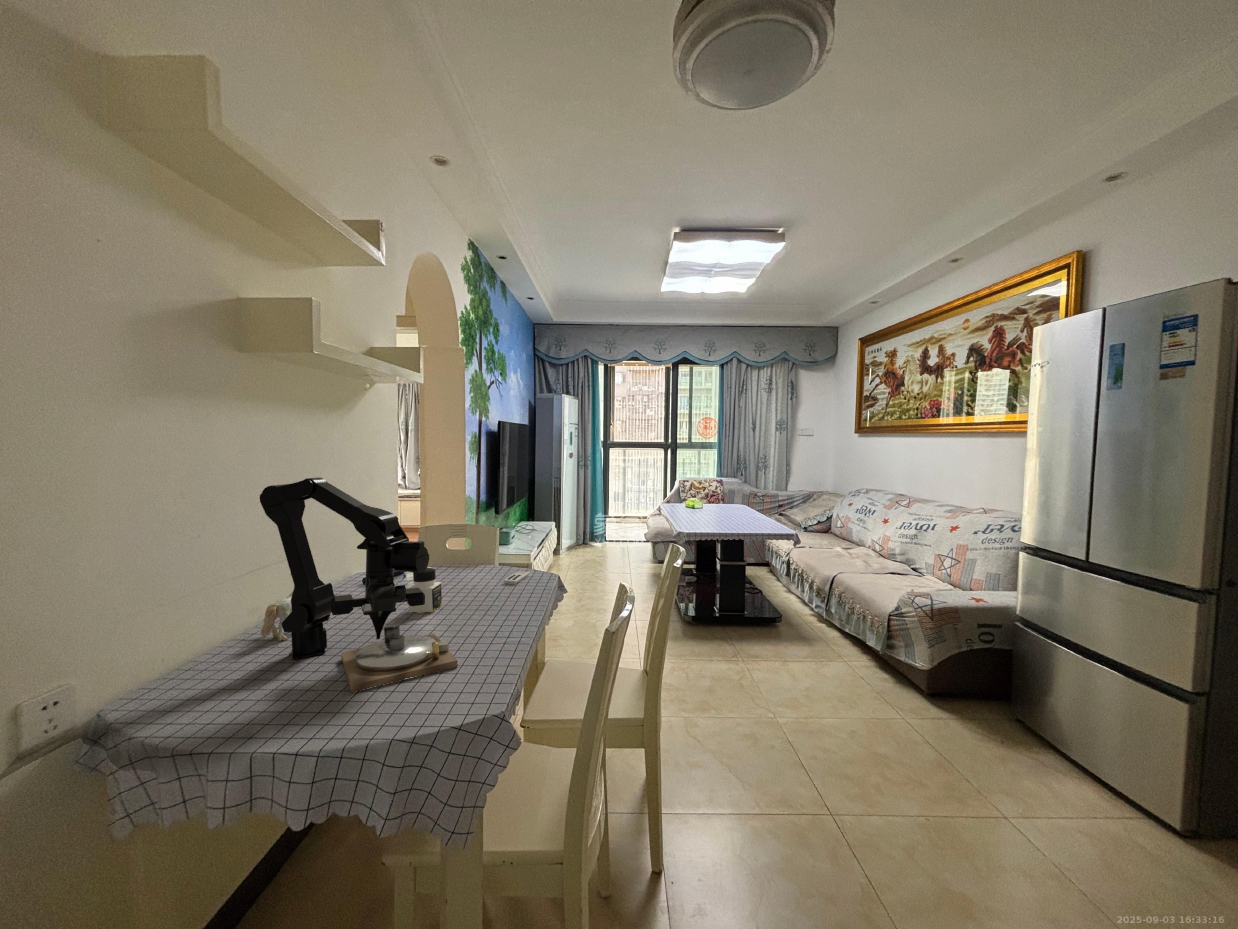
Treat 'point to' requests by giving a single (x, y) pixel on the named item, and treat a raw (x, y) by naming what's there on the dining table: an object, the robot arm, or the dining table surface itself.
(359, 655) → the flange plate
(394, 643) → the post
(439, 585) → the medicine bottle
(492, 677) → the dining table surface
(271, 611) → the unicorn figurine
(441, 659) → the base board
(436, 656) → the dowel
